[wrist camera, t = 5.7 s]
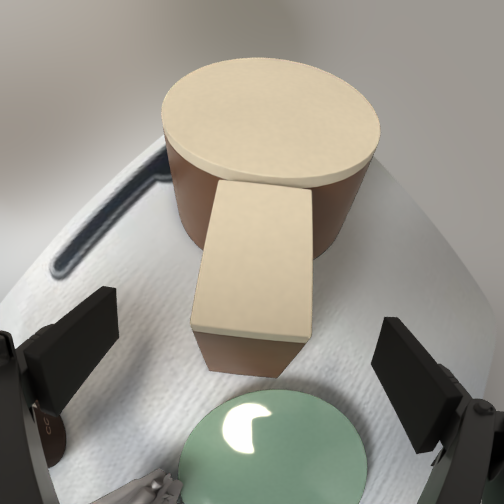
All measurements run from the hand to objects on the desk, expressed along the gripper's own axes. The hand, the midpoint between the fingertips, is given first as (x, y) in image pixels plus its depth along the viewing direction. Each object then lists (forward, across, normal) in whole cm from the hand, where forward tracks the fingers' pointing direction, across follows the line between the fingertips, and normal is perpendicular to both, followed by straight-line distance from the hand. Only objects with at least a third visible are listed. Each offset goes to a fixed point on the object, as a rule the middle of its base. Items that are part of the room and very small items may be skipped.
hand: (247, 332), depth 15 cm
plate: (+1, +3, -12) cm, 12 cm away
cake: (+18, 0, +5) cm, 18 cm away
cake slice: (+9, 0, -4) cm, 10 cm away
